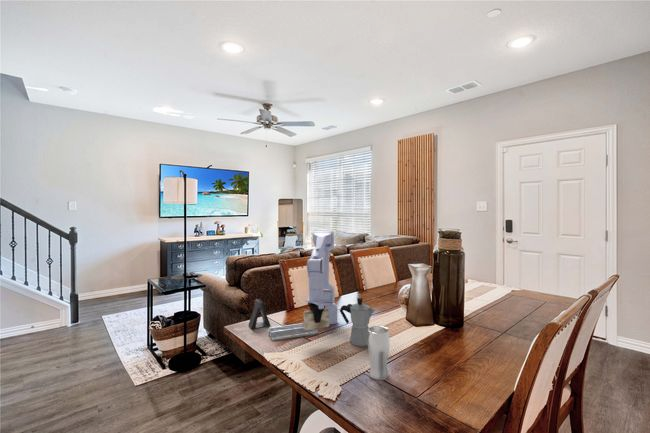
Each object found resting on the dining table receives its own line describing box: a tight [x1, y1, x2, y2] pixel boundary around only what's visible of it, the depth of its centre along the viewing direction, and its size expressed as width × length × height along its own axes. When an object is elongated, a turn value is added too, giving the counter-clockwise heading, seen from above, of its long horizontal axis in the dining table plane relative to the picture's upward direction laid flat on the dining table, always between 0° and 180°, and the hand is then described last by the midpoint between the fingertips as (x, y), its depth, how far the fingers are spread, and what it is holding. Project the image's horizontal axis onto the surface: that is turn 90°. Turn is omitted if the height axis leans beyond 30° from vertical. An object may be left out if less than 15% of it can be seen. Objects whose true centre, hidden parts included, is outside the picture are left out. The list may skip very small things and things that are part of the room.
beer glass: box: [367, 325, 390, 381], centre depth 98 cm, size 7×7×15 cm
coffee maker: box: [339, 297, 376, 348], centre depth 122 cm, size 15×9×18 cm, turn 71°
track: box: [268, 322, 319, 342], centre depth 132 cm, size 20×10×3 cm, turn 109°
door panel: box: [302, 308, 330, 330], centre depth 122 cm, size 10×2×7 cm, turn 108°
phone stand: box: [248, 298, 272, 330], centre depth 141 cm, size 9×6×12 cm, turn 116°
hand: (316, 321), depth 122 cm, fingers closed on door panel, 2 cm apart
